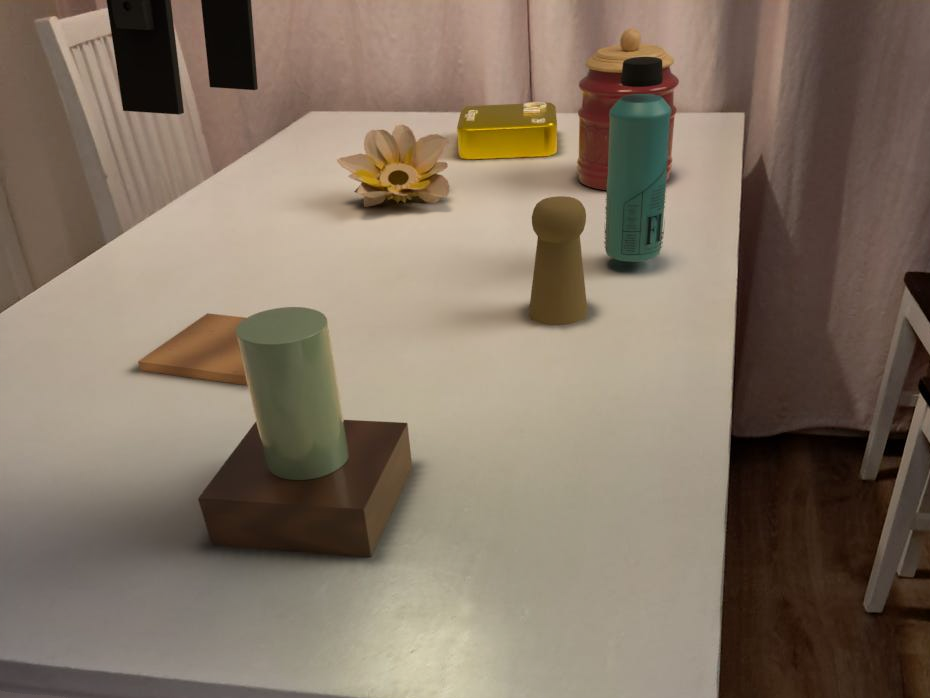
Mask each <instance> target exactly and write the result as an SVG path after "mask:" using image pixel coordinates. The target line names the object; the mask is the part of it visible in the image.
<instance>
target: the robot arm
mask: <svg viewBox="0 0 930 698" xmlns="http://www.w3.org/2000/svg"><path fill="white" fill-rule="evenodd" d="M200 4H201V14H202V24H203V34H204V42H205V44H204V45H205V52H206V63H207V64H206V65H207V71H208V72H207V73H208V83H209V88H215V89H217V88H218V89H229V90H231V89H232V90H246V91H247V90H248V91H257V90H259V86H258V72H257V61H256V48H255V47H256V45H255V35H254V21H253V7H252V0H200ZM106 6H107V7H106V8H107V13H108V20H109V26H110V27H109V28H110V33H111V39H112V46H113V47H112V48H113V52H114V54H113V55H114V60H115V67H116V75H117V80H118V86H119V87H118V88H119V92H120V100H121V107H122V111H123V112H132V113H133V112H135V113H148V114H149V113H151V114H164V115H165V114H166V115H182V114H185V109H184V100H183V93H182V92H183V91H182V85H181V84H182V83H181V75H180V67H179V58H178V50H177V41H176V40H177V39H176V32H175V24H174V16H173V8H172V0H106Z"/></svg>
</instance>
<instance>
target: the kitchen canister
mask: <svg viewBox="0 0 930 698" xmlns="http://www.w3.org/2000/svg"><path fill="white" fill-rule="evenodd" d="M619 40H620V41H619V42H620V44H617V45H616V44H615V45H610V46H605V47H602V48H599V49H597V51H596V52H595V54H593V55H592V56H591V57H588V59H587V60H586V61H585V66H586V68H588V72H587V74H586V75H585V76H584V77H582V78H581V80H579V81H578V87H579V89H580V90H581V92H582V99H581V107H580V108H579V109H578V111H577V115H578V118H579V121H578V123H579V124H578V129H579V130H578V156H577V161H576V164H577V166H576V170H577V174H578V180H579V182H580V183H581V184H583V185H584V186H587V187H589V188H591V189H592V188H593V189H597V190H603V191H607V178H608V176H607V175H608V155H609V126H610V117H609V112H610V109H611V108H612V107H613V105H614V104H615V103H616V102H617V101H618V100H619V99H620V98H621V97H623V96H626V95H632V94H654V95H659V96H661V97H662V98H663V99H664V100H665V101H666V102H667V104H668V105H669V106H670V108H671V115H670V126H669V141H668V143H669V145H668V161H667V164H669V165H667V175H666V182H667V181H668V180H669V178H670V173H671V171H672V166H673V165H672V163H673V156H672V153H673V143H674V142H673V140H674V131H675V130H674V129H675V128H674V127H675V117H676V114H677V111H678V110H677V107H676V105H674V96H675V95H674V93H675V89H676V88H677V86H678V85H679V83H680V80H679V78H678V77H677V76H676V75H675V74H674V73H672V70H671V67H672V65H673V64H674V62H675V58H674V57H672V56H671V55H670V54H669V53H667V52H666V51H665V50H664V48H663V47H662V46H658V45H653V44H641V43H642V36H641V34H640V32H639V31H638V30H637V29H636V28H628V29H627V28H626V29H625V30H624V31H623V32H622V34H621V36H620V39H619ZM634 57H656V58H660V59H661V60H662V74H663V81H662V83H661V84H659V85H655V86H649V87H629V86H624V85H622V84H621V75H622V67H623V62H624V61H625V60H626V59H629V58H634ZM669 148H670V150H669ZM605 185H606V186H605Z"/></svg>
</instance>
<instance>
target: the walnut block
mask: <svg viewBox="0 0 930 698" xmlns="http://www.w3.org/2000/svg"><path fill="white" fill-rule="evenodd" d="M343 420H344V426H345V432H346V439H347V445H348V451H349V456H348V459H347V461H346V463H345V464H344V465H343V466H342V467H341V468H339V469H338V470H336V471H335V472H333V473H331V474H328V475H326V476H323V477H319V478H315V479H309V480H289V479H284V478H280V477H278V476H275V475H274V474H272V473H271V472H270V471H269V470H268V468H267V466H266V462H265V457H264V453H263V449H262V444H261V440H260V436H259V431H258V427H257V423H256V421H255V422H254V423H253V424H252V426H251V427H250V428H249V430H248V431H247V432H246V434H245V435H244V436H243V438H242V439H241V440H240V442H239V443H238V444H237V446H236V447H235V448H234V450H233V451H232V452H231V454H230V455H229V456H228V458H227V459H226V461H224V463H223V464H222V466H221V467H220V468H219V470H218V471H217V472H216V474H215V475H214V476H213V478H212V479H211V481H210V482H209V483H208V485H206V487H205V489H204V490H203V491H202V493H200V495H199V497H198V498H197V500H198V504H199V507H200V510H201V511H200V512H201V514H202V517H203V521H204V524H205V527H206V531H207V534H208V538H209V541H210V544H211V546H222V547H233V548H246V549H261V550H275V551H289V552H299V553H311V554H312V553H314V554H326V555H329V554H330V555H339V556H340V555H341V556H350V557H351V556H352V557H366V558H371V557H372V556H373V554H374V552H375V550H376V547H377V545H378V544H379V541H380V539H381V537H382V535H383V533H384V531H385V528H386V526H387V524H388V522H389V519H390V517H391V515H392V513H393V512H394V511H393V510H394V508H395V507H396V504H397V502H398V500H399V498H400V496H401V494H402V491H403V489H404V487H405V485H406V483H407V480H408V478H409V476H410V474H411V472H412V470H413V460H412V452H411V442H410V433H409V425H408V422H400V421H399V422H396V421H379V420H378V421H377V420H359V419H358V420H357V419H343Z"/></svg>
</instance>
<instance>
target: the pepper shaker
mask: <svg viewBox="0 0 930 698" xmlns="http://www.w3.org/2000/svg"><path fill="white" fill-rule="evenodd" d="M586 223H587V211H586V207H585V206H584V204H583V203H582V201H581V200H579V199H578V198H575V197H571V196H566V195H565V196H563V195H560V196H559V195H558V196H549V197H546V198H543V199H541V200H540V201H538V202H537V203H536V204H535V206H534V208H533V210H532V214H531V226H532V230H533V232H534V233H535V235H536V236H537V239H536V250H535V258H534V267H533V275H532V284H531V292H530V300H529V308H528V316H529V318H530V319H531V320H532V321H534V322H536V323H539V324H542V325H548V326H566V325H572V324H575V323H578V322H580V321H582V320H584V319H585V318H586V317H587V316H588V304H587V303H588V302H587V293H586V283H585V274H584V273H585V271H584V263H583V254H582V242H581V235H582V233H583V232H584V231H585V228H586V227H585V226H586Z"/></svg>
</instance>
